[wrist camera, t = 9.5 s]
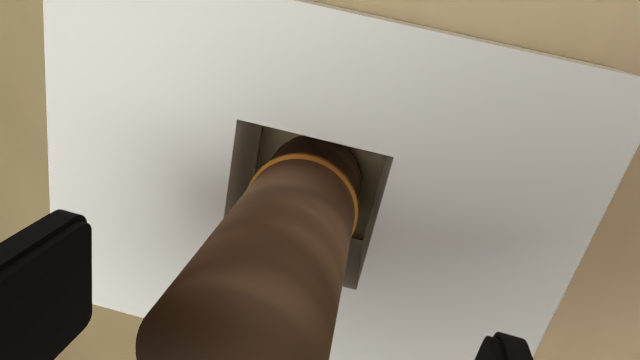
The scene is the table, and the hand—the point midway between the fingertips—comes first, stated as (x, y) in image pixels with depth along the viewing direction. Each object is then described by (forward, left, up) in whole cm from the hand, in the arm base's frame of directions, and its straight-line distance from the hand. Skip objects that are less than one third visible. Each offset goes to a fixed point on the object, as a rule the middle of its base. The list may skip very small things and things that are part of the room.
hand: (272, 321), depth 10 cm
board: (+1, 0, -11) cm, 11 cm away
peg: (+1, 0, -11) cm, 11 cm away
